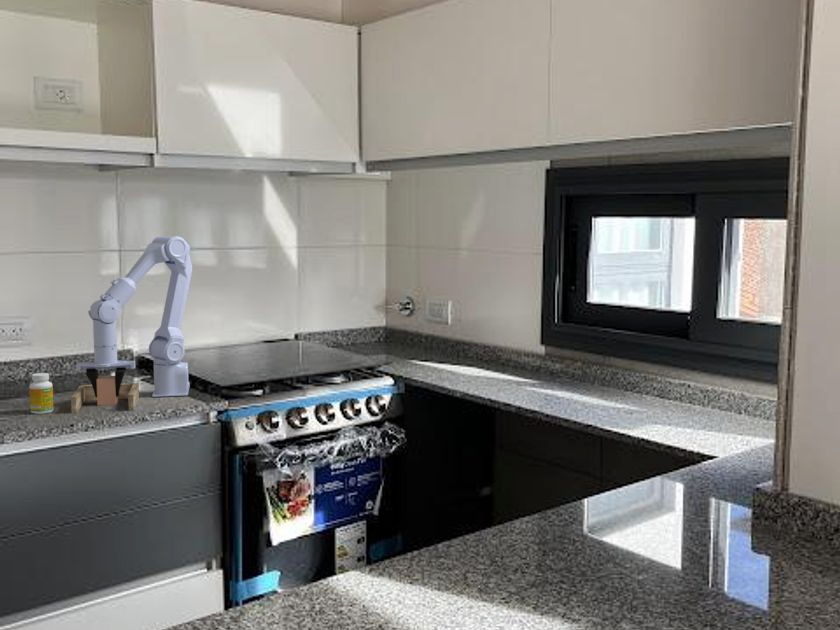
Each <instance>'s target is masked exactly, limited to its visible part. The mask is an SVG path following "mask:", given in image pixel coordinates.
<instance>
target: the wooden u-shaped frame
mask: <svg viewBox="0 0 840 630" xmlns="http://www.w3.org/2000/svg"><path fill="white" fill-rule="evenodd" d="M139 387H140V384H139V383H138V382H133V383H131V382H129V383H121V386H120V392H119V396H118V397H117V400H128V401H127V402H128V411H135V409H136V405H137V403H138V402H139V401H138V400H139V398H140V392H139V391H140V389H139ZM85 400H86V401H97V397H95V393H94V389H93V387H92V384H81V385H79V386H78V387H77V389H76V390H75V391H74V392H73V394H72V395H71V396H70V405H71V410H70V411H71V413H72V414H75V413H76V414H77V413H78V411H79V410H80V408H81V407H82V406H83V404H85V402H86V401H85ZM84 401H85V402H84Z"/></svg>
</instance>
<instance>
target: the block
mask: <svg viewBox="0 0 840 630" xmlns="http://www.w3.org/2000/svg"><path fill="white" fill-rule="evenodd" d="M96 401H97V403H96V404H97V406H98V405H99V406H116V405H117V403H118V399H117V397H116V380H115V375H98V378H97V400H96Z"/></svg>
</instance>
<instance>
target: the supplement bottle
mask: <svg viewBox="0 0 840 630" xmlns="http://www.w3.org/2000/svg"><path fill="white" fill-rule="evenodd" d="M49 380H50V374H49V373H48V372H38V373H37V372H36V373H32V374H31V381H32V382H31V383H30V384H29V386H28V387H29V389H28V390H29V406H30V408H29V409H30V413H31V414H33V413H34V414H36V415H41V414H49V413H52V412H54V387H53V383H52V382H51V381H49Z"/></svg>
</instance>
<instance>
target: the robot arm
mask: <svg viewBox="0 0 840 630" xmlns="http://www.w3.org/2000/svg"><path fill="white" fill-rule="evenodd" d="M190 251H191V247H190V245H189V244H188V242H186V239H184V238H183V237H181V236H178V235H176V236H170V235H169V236H167V235H166V236H165V235H158V236H156V237H155V238H153V239H152V241H151V242H150V243H149V244H148V245H147V246H146V248H145V250H144V252H143V253H142V255H140V257H139V259H138V260H136V262H135V264H133V266H132V267H131V268H130V269H129V271H128V273H127V274H126V275H125V276H124V277H118V278H116V279H112V281H111V282H110V284H111V286H110V287H109V288H107V290H106V291H105V293H103V294H101V295H100V296H99V298H100V299H98V300H95V301H94V302H92V304H91V305H90V309H89V310H88V316H89V317H90V319H91V320H92V330H93V355H94V360H93V361H82V362H81V361H79V362H76V371H77V372H79V371H81V372H82V371H86V372H85V375H86V377H87V378H88V381H89V382H90V385H92V387H93V389H94V393H95V397H97V378H98V377H99V370H100V371H101V370H115V371H114V376H115V380H116V397H118V396H119V392H120V386H121V384H122V382H123V380H124V377H125V375H126V371H127V370H129V369H130V370H135V369H136V360H121V359H120V360H118V342H117V340H118V339H117V336H118V335H117V320H118V319H119V318H120V316H121V310H122V308H123V307H124V306H125V305H126V303H128V301H129V300H130V299H131V298H132V297H133V296H134V295H135V293H136V290H137V288H136V285H137V284H138V283H139V282H140V281H141V279H143V278H144V276H146V275H147V274H148V272H150V270H152V268H153V267H154V266H155V265H156V264H161V263H164V264H165V265H166V266H167V268H168V269H169V270H170V272H171V273H170V277H169V283H168V288H167V292H166V298H165V301H164V302H165V303H164V308H163V313H162V319H161V321H160V322H161V324H160V326H159V327H158V329H157V330H156V331H155V332H154V335H153V336H154V337H153V339H152V340H151V341H150V343H149V345H148V353H149V355H150V356H151V357H152V358H153V382H154V383H153V384H154V385H153V387H154V390H153V392H152V394H151V396H152V398H155V397H156V398H159V397H180V396H182V397H183V396H184V397H186V396H189V391H190V381H189V364H188V363H189V362H183V361H182V359H183V358H184V356H185V354H186V353H185V352H186V350H185V345H184V342H185V337H184V335H183V333H182V330H181V329H182V323H183V318H184V314H185V309H186V308H185V307H186V303H187V300H188V299H187V298H188V293H189V290H190V289H189V288H190V284H191V279H192V274H193V263H192V260H191V256H190Z"/></svg>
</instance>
